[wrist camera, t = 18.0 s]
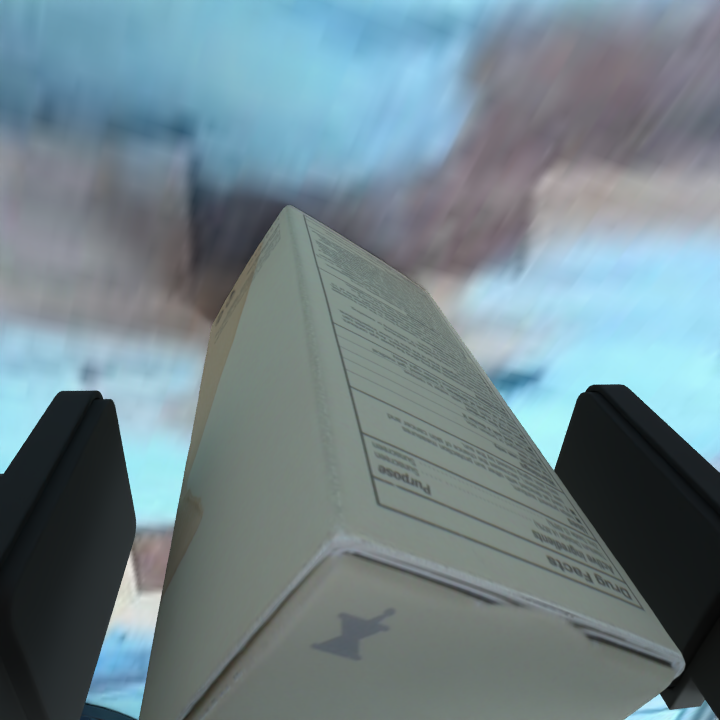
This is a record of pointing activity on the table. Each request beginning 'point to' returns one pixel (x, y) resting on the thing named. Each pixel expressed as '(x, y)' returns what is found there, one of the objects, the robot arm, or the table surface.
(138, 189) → the table surface
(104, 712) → the pot
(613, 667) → the box
